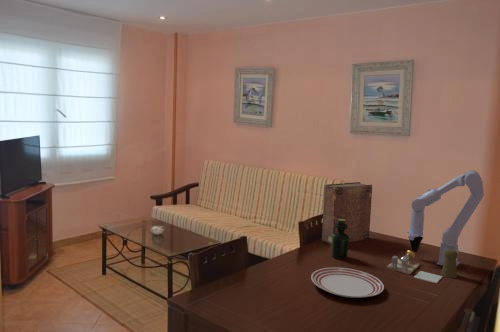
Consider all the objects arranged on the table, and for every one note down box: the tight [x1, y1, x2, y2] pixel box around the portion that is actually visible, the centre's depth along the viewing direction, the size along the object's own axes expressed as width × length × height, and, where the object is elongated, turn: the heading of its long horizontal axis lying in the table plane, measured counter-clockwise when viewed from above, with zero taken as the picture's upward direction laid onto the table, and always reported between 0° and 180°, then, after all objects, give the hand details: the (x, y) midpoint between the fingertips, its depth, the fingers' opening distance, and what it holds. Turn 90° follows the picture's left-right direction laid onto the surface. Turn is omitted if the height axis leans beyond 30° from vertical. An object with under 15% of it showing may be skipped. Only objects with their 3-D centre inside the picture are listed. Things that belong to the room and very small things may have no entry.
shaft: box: [399, 249, 416, 263], centre depth 190 cm, size 11×4×4 cm, turn 141°
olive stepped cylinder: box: [440, 249, 459, 279], centre depth 179 cm, size 6×6×11 cm
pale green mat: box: [413, 270, 444, 284], centre depth 176 cm, size 9×9×1 cm
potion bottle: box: [331, 219, 350, 260], centre depth 197 cm, size 8×8×18 cm
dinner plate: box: [310, 267, 385, 299], centre depth 163 cm, size 28×27×3 cm
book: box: [321, 181, 373, 245], centre depth 224 cm, size 25×9×30 cm, turn 120°
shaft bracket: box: [386, 255, 421, 275], centre depth 187 cm, size 14×10×6 cm
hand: (414, 251), depth 199 cm, fingers closed
